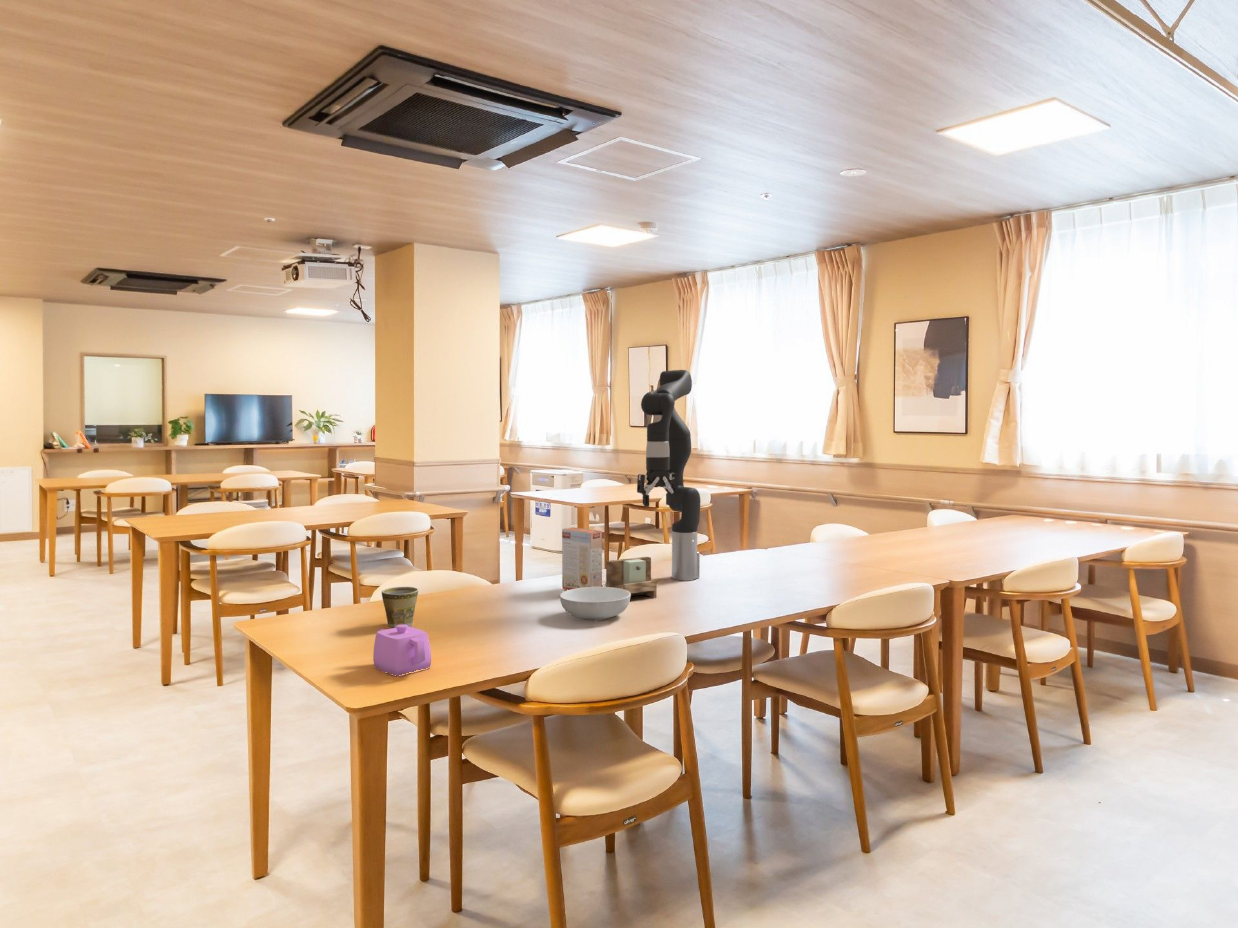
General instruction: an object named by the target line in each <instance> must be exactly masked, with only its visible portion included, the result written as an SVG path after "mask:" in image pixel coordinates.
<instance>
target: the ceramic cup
mask: <svg viewBox="0 0 1238 928" xmlns="http://www.w3.org/2000/svg"><path fill="white" fill-rule="evenodd" d="M418 594H419V589H418V588H417V587H412V586H394V587H389V588H385V589H383V590H381V598H382V603H383V607H384V612H385V615H386V621H387V627H389V628H391V627H393V628H396V626H397V625H407V626H409V627H412V625H413V622H414V621H413V620H414V616H415V615H414V614H415V609H416V605H417V601H418Z"/></svg>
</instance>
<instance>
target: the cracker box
mask: <svg viewBox="0 0 1238 928" xmlns="http://www.w3.org/2000/svg"><path fill="white" fill-rule="evenodd" d="M561 530H562V531H561V532H562V533H561V538H562V539H561V541H562V543H561V544H562V545H561V550H562V551H561V553H562V554H561V555H562V556H561V557H562V558H561V559H562V560H561V564H562V565H561V569H562V570H561V571H562V572H561V573H562V575H561V576H562V577H561V578H562V581H561V582H562V585H561V589H562V590H565V591H567V590H571V589H576V588H584V587H603V531H602V530H597V529H589V528H581V527H567V528H562V529H561Z"/></svg>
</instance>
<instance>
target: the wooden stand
mask: <svg viewBox="0 0 1238 928" xmlns="http://www.w3.org/2000/svg"><path fill="white" fill-rule="evenodd" d="M635 559H641V560H644V561H646V582H638V583H630V584H623V561H626V560H635ZM605 573H606V575H605V587H613V588H620V589H624V590H627V591H629V592H630V594H631V597H632V596H633V597H634V596H640V595H644V596H648V597H650V598H652V599H656V598H657V597H658V595H657V593H658V592H657V584H658V583H657V580H655V579H654V580H652V557H650V556H641V557H632V558H622V559H621V558H620V559H613V560H611V559H610V560H606V562H605Z"/></svg>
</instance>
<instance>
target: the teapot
mask: <svg viewBox="0 0 1238 928" xmlns="http://www.w3.org/2000/svg"><path fill="white" fill-rule="evenodd" d="M431 653H432V652H431V645H430V641H429V636H428V633H427V632H426V631H424V630H422V629H419V628H416V627H413V626H407V625H397V626H396V628H388V629H386V628H384V629H383V628H382V629H378V631H376V634H375V638H374V643H373V656H372V657H373V658H372V659H373V665H374V668H375V667H376V668H375V669H377V670H378V669H379V671H380V670H382V671H383V672H382V671H381V672H382V673H384V672H387V673H389V674H393V675H396V676H395V677H397V676H399V675H402V674H406V673H409V672H414V671H416V670H421V669H426V668H428V667H430V668H431V664H432V654H431ZM387 673H386V674H387ZM389 674H388V675H389ZM393 675H392V676H393ZM399 677H400V676H399Z"/></svg>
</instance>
